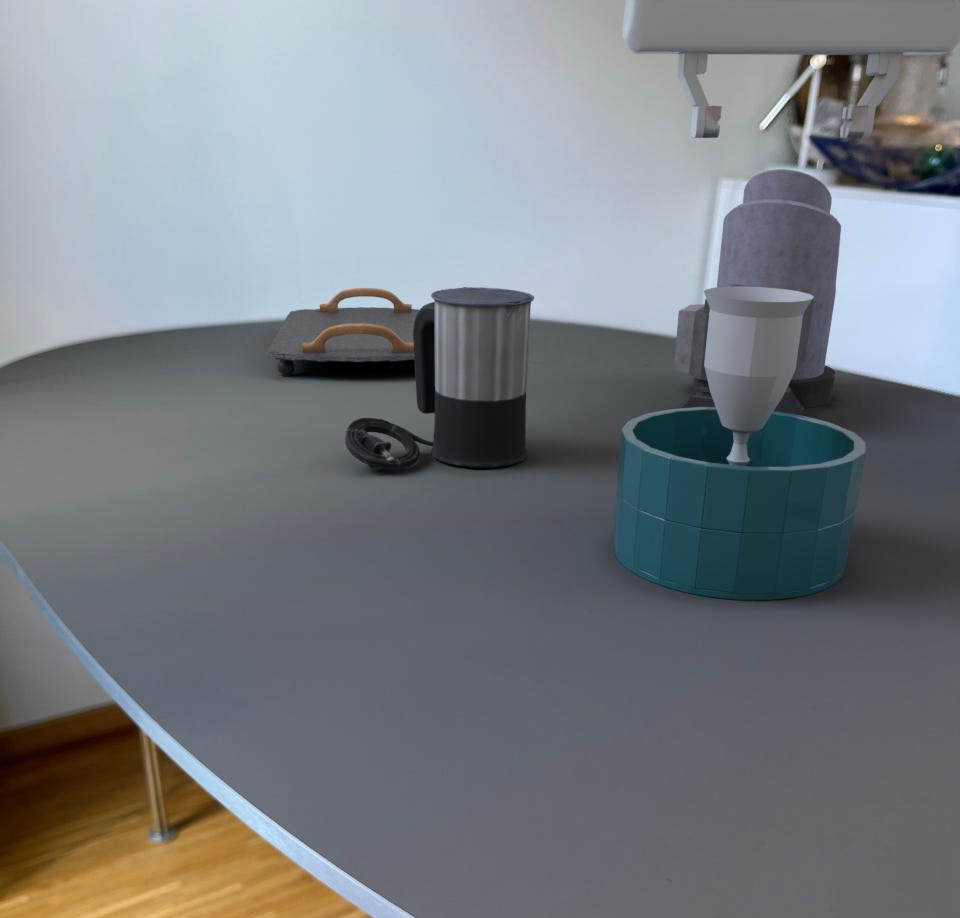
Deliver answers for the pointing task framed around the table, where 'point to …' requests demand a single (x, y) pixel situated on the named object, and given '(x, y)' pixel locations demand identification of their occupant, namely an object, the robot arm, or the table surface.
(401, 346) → the serving tray
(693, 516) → the pot
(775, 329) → the chalice
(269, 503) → the table surface
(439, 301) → the milk frother
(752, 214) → the juicer
